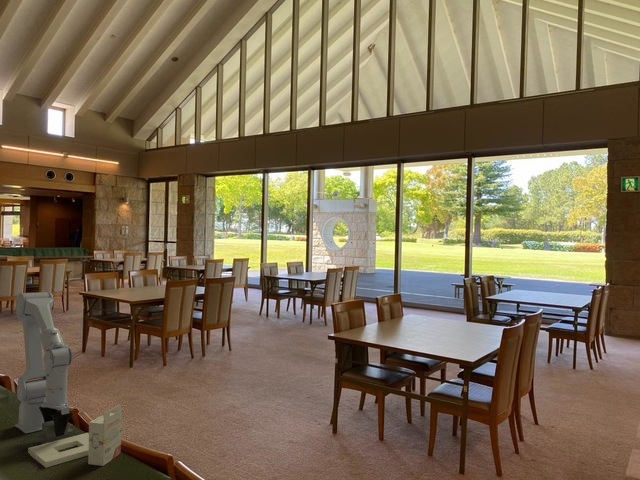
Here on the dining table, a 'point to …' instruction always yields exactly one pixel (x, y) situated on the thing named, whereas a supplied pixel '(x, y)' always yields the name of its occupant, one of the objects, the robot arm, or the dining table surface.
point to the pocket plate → (50, 454)
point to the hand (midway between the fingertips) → (54, 432)
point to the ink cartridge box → (105, 437)
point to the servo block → (51, 433)
